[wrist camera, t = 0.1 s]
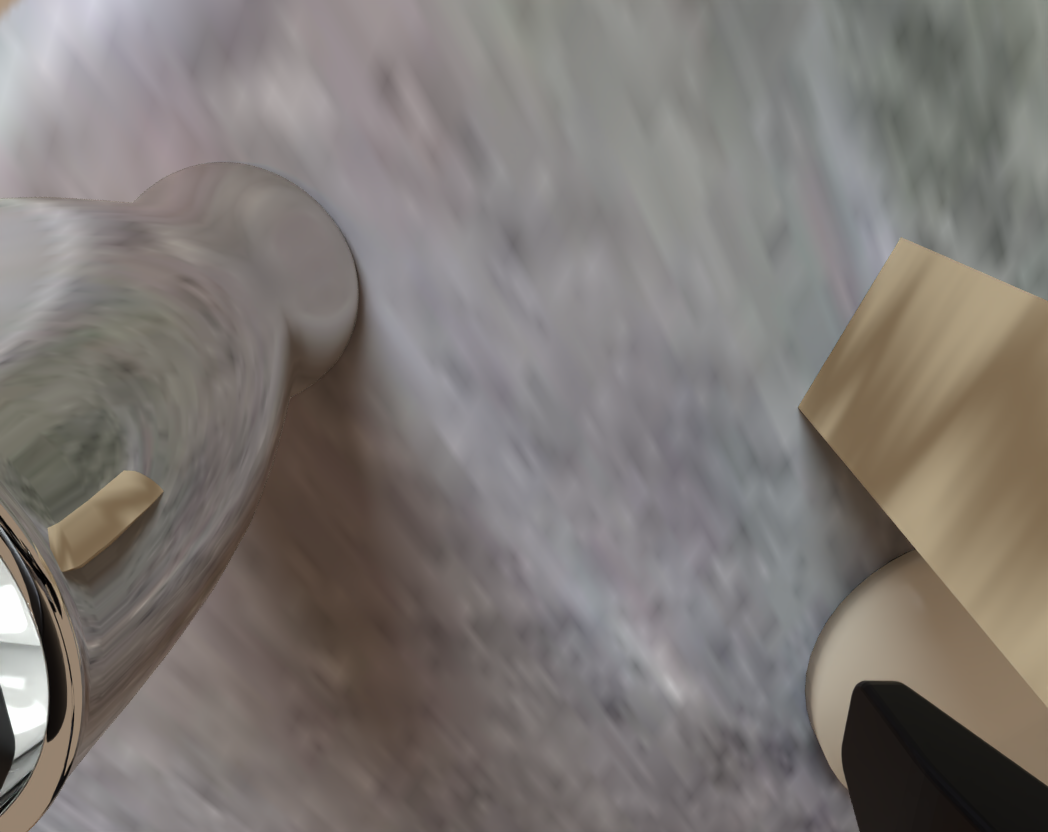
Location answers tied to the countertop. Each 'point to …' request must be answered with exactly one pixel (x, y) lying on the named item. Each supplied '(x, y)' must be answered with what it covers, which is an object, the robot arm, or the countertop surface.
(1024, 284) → the countertop surface
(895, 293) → the wooden block
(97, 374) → the beer glass
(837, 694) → the saucer
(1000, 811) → the robot arm
